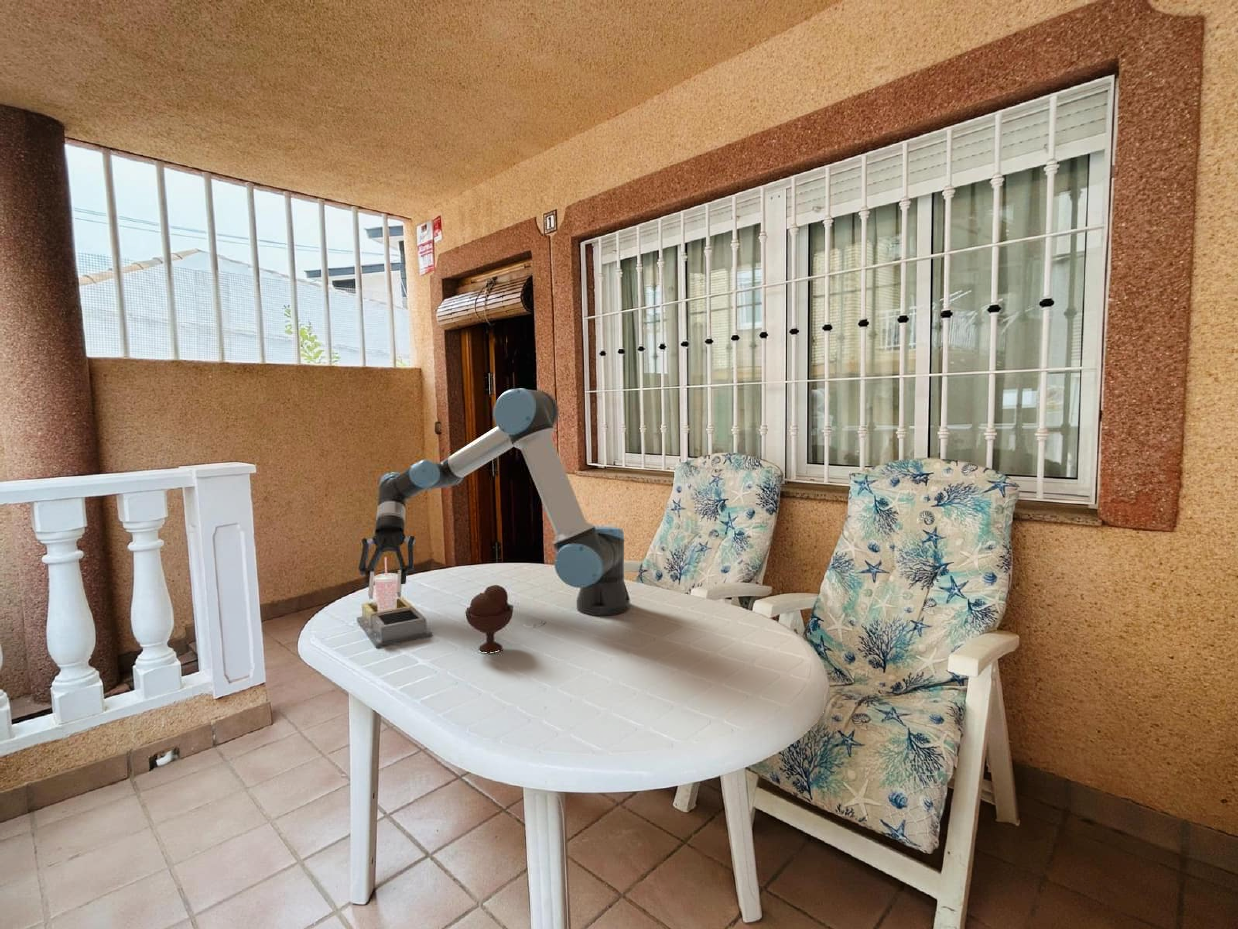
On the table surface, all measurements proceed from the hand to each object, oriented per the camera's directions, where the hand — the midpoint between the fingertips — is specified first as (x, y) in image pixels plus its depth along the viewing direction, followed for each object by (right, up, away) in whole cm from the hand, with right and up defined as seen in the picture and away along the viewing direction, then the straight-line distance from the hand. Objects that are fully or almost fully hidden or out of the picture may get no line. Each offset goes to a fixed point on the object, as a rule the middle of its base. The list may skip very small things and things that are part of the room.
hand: (384, 595), depth 148 cm
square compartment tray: (+2, -8, 0) cm, 9 cm away
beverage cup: (-1, -5, +4) cm, 6 cm away
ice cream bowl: (+30, -10, -14) cm, 35 cm away
